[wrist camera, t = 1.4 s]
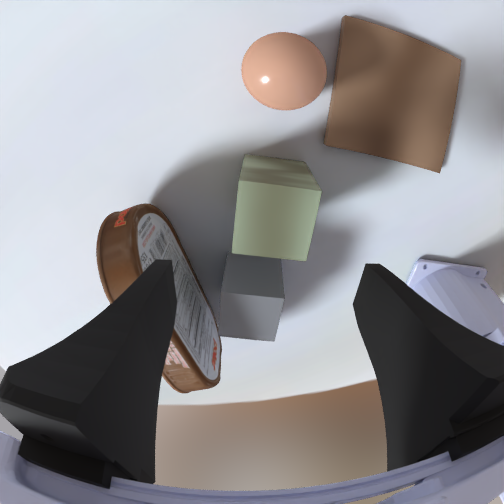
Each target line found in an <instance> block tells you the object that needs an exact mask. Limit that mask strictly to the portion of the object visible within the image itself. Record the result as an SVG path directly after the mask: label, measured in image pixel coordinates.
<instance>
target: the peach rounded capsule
mask: <svg viewBox="0 0 504 504" xmlns="http://www.w3.org/2000/svg"><path fill="white" fill-rule="evenodd" d="M241 71H242V78H243V82H244V84H245V86H246V88H247V90H248V91H249V93H250V94H251V95H252V96H253V97H254V98H255V99H256V100H257V101H259V102H260V103H262V104H263V105H265V106H268V107H270V108H273V109H278V110H294V109H298V108H301V107H304V106H306V105H308V104H309V103H311V102H312V101H314V100H315V99H316V98H317V97H318V96H319V94H320V93H321V91H322V90H323V88H324V85H325V82H326V78H327V68H326V63H325V60H324V58H323V56H322V54H321V52H320V51H319V49H318V48H317V47H316V46H315V45H314V44H313V43H312V42H310V41H309V40H307V39H306V38H304V37H302V36H300V35H297V34H293V33H287V32H278V33H272V34H268V35H266V36H263V37H261V38H260V39H258V40H257V41H255V42H254V43H253V44H252V45H251V46H250V47H249V49H248V50H247V52H246V54H245V55H244V58H243V62H242V70H241Z"/></svg>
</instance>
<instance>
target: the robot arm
mask: <svg viewBox="0 0 504 504" xmlns="http://www.w3.org/2000/svg"><path fill="white" fill-rule="evenodd" d="M425 264H426V266H425V267H423V266H424V265H425ZM486 274H487V270H486V269H485V268H482V267H475V266H468V265H461V264H453V263H446V262H439V261H431V260H424V259H419V260H418V261H416V263H415V265H414V267H413V270H412V272H411V274H410V277H409V279H408V281H407V284H405V283H404V282H403V281H402V280H400V279H399V278H398V277H397V276H395V275H394V274H393V273H392V272H390V271H389V270H388V269H386V268H385V267H384V266H382V265H380V264H365V267H364V271H363V274H362V277H361V280H360V284H359V287H358V290H357V293H356V296H355V299H354V302H353V307H354V311H355V316H356V320H357V324H358V327H359V330H360V333H361V336H362V338H363V341H364V344H365V346H366V349H367V352H368V354H369V357H370V360H371V363H372V365H373V368H374V371H375V374H376V377H377V381H378V385H379V390H380V395H381V400H382V406H383V412H384V419H385V428H386V437H387V463H388V464H387V472H384V473H380V474H376V475H372V476H368V477H364V478H359V479H354V480H349V481H343V482H338V483H332V484H326V485H319V486H311V487H303V488H293V489H281V490H262V491H218V490H199V489H187V488H177V487H169V486H161V485H154V484H153V483H155V438H156V437H155V436H156V421H157V407H158V398H159V390H160V383H161V377H162V373H163V369H164V365H165V361H166V357H167V353H168V349H169V345H170V341H171V337H172V333H173V329H174V324H175V317H176V310H177V296H176V289H175V281H174V273H173V265H172V260H163V259H156V260H155V261H154V262H153V263H152V264H150V265H149V267H148V268H147V269H146V270H145V271H144V272H143V273H142V274H141V275H140V276H139V277H138V278H137V279H136V280H135V281H134V282H133V283H132V284H131V285H130V286H129V287H128V288H127V289H126V290H125V291H124V292H123V293H122V294H121V295H120V296H119V297H118V298H117V299H116V300H115V301H113V302H112V303H111V304H110V305H109V306H108V307H107V308H106V309H105V310H104V311H102V312H101V313H100V314H99V315H97V316H96V317H95V318H94V319H92V320H91V321H90V322H88V323H87V324H86V325H84V326H83V327H82V328H80V329H79V330H77V331H76V332H74V333H73V334H71V335H70V336H68V337H67V338H65V339H64V340H62V341H60V342H59V343H57V344H55V345H53V346H52V347H50V348H48V349H46V350H44V351H42V352H41V353H39V354H37V355H35V356H33V357H30V358H28V359H26V360H23V361H21V362H19V363H17V364H14V365H12V366H9V367H8V369H7V371H6V373H5V375H4V377H3V379H2V381H1V384H0V413H1V414H2V415H3V416H4V417H5V418H6V419H7V420H8V421H9V422H10V423H11V424H12V425H13V426H14V427H16V428H17V429H18V430H19V431H20V432H21V433H22V434H23V438H22V441H19V440H17V439H16V438H14V437H12V436H10V435H8V434H6V433H4V432H2V431H0V504H343V503H348V502H353V501H358V500H362V499H366V498H370V497H374V496H377V495H382V494H385V493H388V492H392V491H395V490H398V489H401V488H404V487H408V486H411V485H413V484H415V485H414V486H413V487H411V488H409V489H406V490H404V491H401V492H398V493H395V494H394V495H392V496H391V497H389V498H387V499H385V500H383V501H381V502H379V503H376V504H488V503H490V502H491V501H492V500H494V499H495V498H496V497H497V496H500V498H501V501H502V503H503V504H504V303H503V302H502V301H501V299H500V298H499V297H498V296H497V294H496V293H495V292H494V291H493V289H492V288H491V287H490V286H489V285H488V283H487V282H486V281H485V280H484V278H485V276H486Z"/></svg>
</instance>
